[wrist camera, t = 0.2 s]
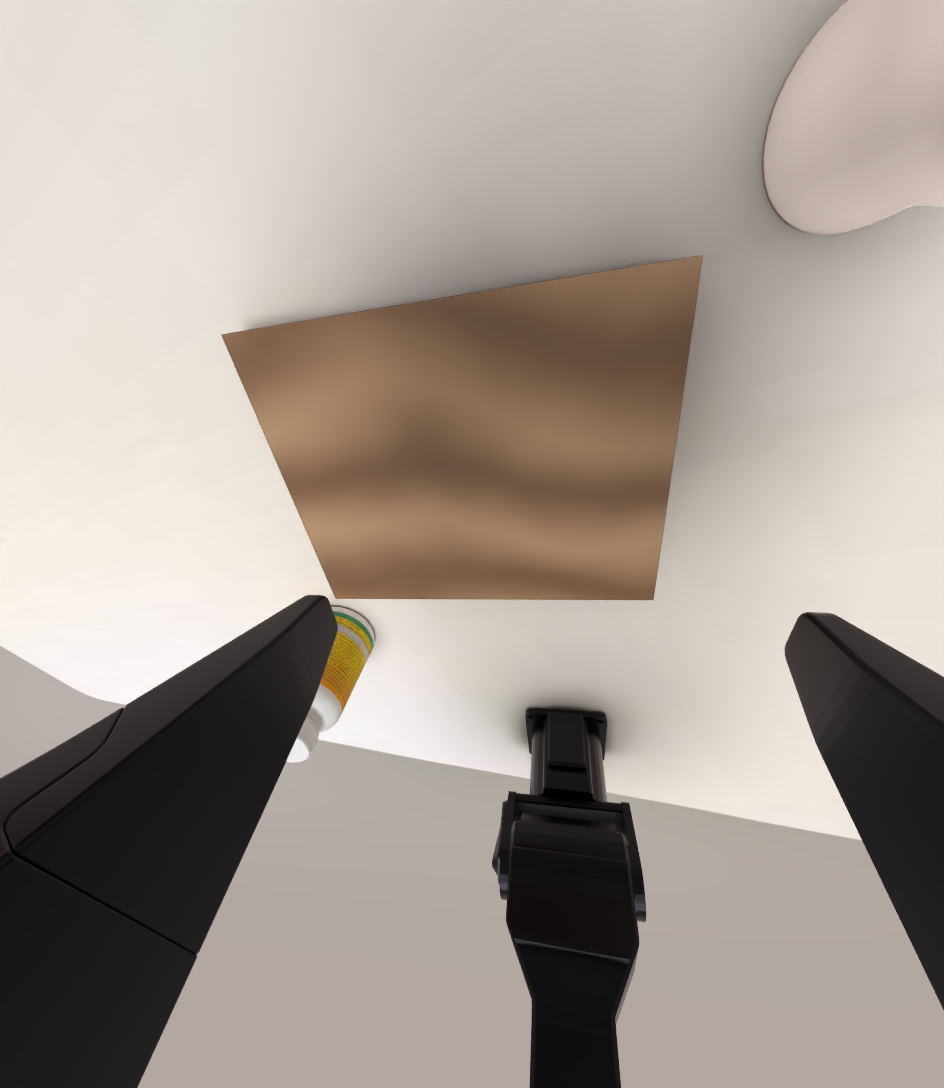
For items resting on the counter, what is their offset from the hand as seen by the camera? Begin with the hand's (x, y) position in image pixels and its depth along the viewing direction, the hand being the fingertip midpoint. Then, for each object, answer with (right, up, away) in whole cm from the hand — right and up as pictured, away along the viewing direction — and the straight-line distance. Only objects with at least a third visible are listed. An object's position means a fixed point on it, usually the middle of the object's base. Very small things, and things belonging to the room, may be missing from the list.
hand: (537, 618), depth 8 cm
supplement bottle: (-11, -5, +24) cm, 27 cm away
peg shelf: (-2, +6, +14) cm, 15 cm away
